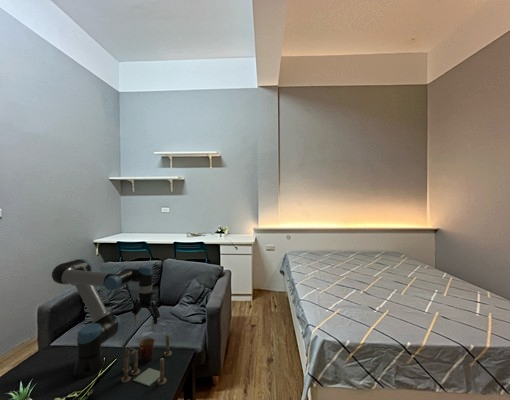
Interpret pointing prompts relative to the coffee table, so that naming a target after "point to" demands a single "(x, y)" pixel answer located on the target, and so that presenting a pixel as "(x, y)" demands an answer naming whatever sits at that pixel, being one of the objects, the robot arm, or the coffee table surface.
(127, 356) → the light wood frame
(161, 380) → the gate post right
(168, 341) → the gate post far
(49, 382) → the coffee table surface
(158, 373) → the pad
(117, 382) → the coffee table surface
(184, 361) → the coffee table surface
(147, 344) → the mug
